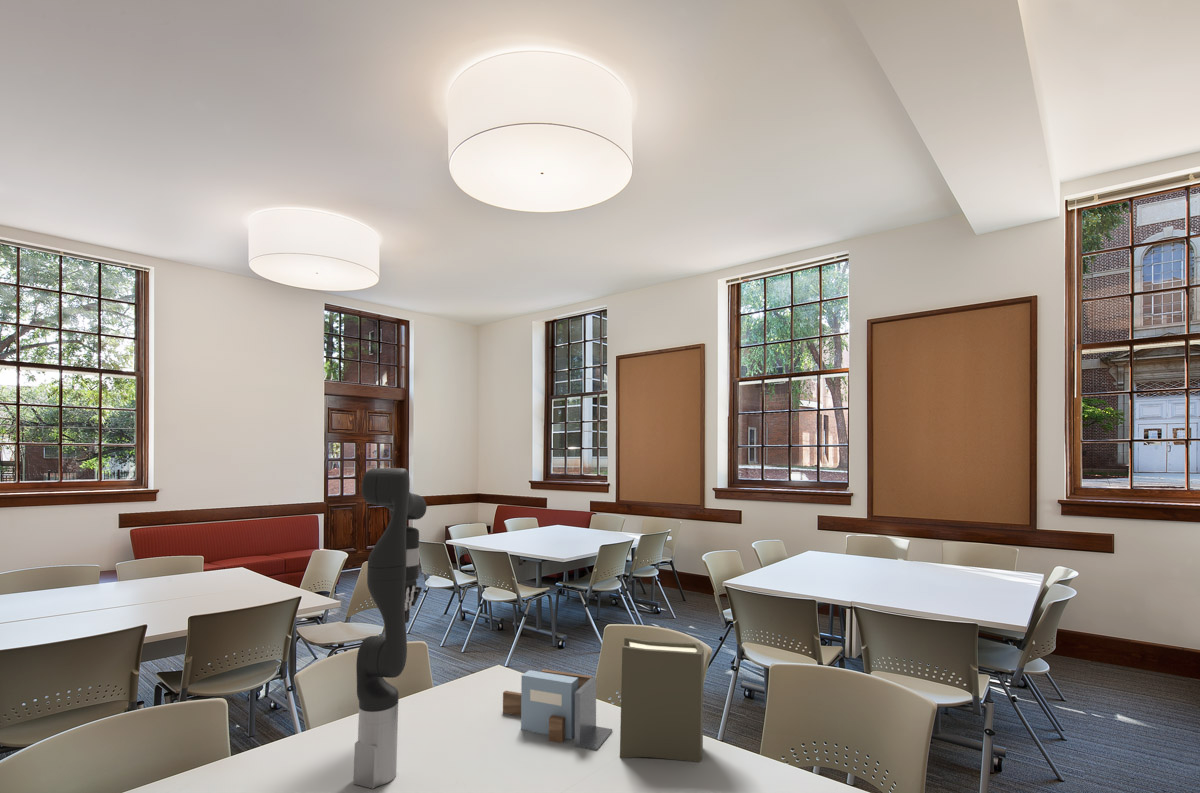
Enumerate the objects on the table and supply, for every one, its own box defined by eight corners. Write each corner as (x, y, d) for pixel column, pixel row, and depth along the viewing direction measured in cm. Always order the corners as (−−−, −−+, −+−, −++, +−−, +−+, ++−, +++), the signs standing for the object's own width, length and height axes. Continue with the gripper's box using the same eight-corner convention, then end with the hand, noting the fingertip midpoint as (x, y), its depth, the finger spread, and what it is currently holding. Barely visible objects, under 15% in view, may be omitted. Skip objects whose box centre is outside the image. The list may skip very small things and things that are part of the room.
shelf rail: (575, 745, 165) (575, 691, 166) (483, 728, 175) (484, 677, 177) (592, 726, 176) (592, 676, 178) (505, 710, 187) (505, 663, 188)
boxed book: (571, 739, 168) (571, 683, 170) (520, 729, 174) (521, 675, 176) (578, 732, 173) (578, 677, 174) (528, 722, 179) (529, 670, 180)
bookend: (596, 750, 162) (596, 696, 163) (574, 746, 164) (574, 692, 166) (612, 731, 173) (612, 680, 174) (591, 727, 176) (591, 677, 177)
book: (701, 747, 165) (702, 641, 168) (703, 764, 156) (704, 652, 158) (622, 740, 168) (624, 636, 170) (619, 757, 158) (622, 647, 161)
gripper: (401, 568, 175) (399, 630, 173) (430, 560, 187) (428, 618, 185) (380, 566, 177) (378, 627, 176) (410, 559, 190) (408, 616, 188)
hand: (404, 622), depth 181 cm, fingers closed
